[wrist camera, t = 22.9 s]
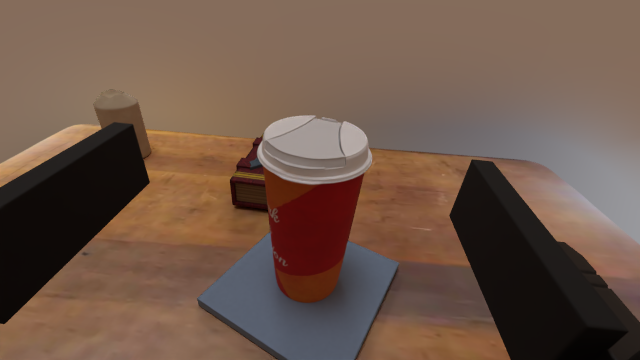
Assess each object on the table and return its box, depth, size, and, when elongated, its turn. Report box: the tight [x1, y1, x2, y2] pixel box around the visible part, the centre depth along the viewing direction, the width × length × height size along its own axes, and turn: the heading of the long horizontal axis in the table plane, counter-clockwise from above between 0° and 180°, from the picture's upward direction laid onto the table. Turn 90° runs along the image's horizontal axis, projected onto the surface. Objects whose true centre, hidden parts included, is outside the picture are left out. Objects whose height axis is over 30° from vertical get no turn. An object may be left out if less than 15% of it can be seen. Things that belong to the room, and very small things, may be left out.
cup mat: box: [197, 232, 399, 360], centre depth 29 cm, size 14×14×1 cm
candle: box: [93, 89, 151, 158], centre depth 46 cm, size 6×6×10 cm
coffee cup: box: [257, 116, 372, 303], centre depth 25 cm, size 8×8×15 cm
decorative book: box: [230, 133, 268, 210], centre depth 43 cm, size 11×16×5 cm
